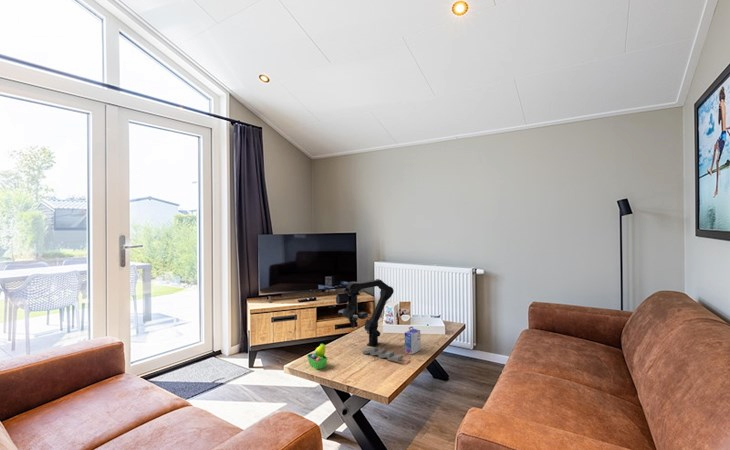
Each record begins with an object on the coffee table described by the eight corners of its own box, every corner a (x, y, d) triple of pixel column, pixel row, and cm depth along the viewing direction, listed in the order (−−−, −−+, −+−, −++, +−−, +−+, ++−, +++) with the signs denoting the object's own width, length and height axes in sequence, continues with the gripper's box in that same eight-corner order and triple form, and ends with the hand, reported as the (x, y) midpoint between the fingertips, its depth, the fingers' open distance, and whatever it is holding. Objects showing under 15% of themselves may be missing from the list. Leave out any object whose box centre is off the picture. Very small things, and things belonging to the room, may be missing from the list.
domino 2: (374, 350, 203) (385, 348, 200) (374, 352, 203) (386, 351, 199) (370, 353, 199) (381, 351, 195) (370, 355, 199) (382, 354, 195)
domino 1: (366, 348, 206) (377, 346, 202) (367, 351, 206) (378, 349, 202) (362, 351, 202) (373, 349, 198) (363, 354, 201) (374, 352, 198)
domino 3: (382, 352, 200) (393, 351, 195) (383, 354, 200) (394, 354, 195) (378, 355, 196) (389, 354, 191) (378, 357, 196) (389, 357, 191)
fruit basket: (306, 364, 188) (306, 343, 188) (320, 360, 193) (320, 340, 193) (315, 371, 179) (315, 350, 179) (330, 367, 184) (330, 346, 184)
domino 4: (392, 354, 196) (403, 354, 191) (392, 357, 196) (403, 357, 191) (386, 357, 192) (397, 357, 187) (387, 360, 192) (398, 360, 187)
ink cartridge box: (413, 347, 211) (413, 324, 211) (421, 350, 207) (421, 326, 207) (404, 352, 204) (404, 328, 204) (411, 354, 200) (411, 330, 200)
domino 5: (396, 356, 195) (409, 359, 191) (396, 359, 195) (409, 362, 191) (393, 359, 191) (406, 362, 187) (393, 362, 191) (406, 365, 187)
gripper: (332, 303, 207) (333, 329, 208) (359, 307, 198) (359, 334, 198) (342, 299, 217) (343, 324, 217) (368, 303, 208) (368, 328, 208)
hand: (352, 327), depth 210 cm, fingers closed
